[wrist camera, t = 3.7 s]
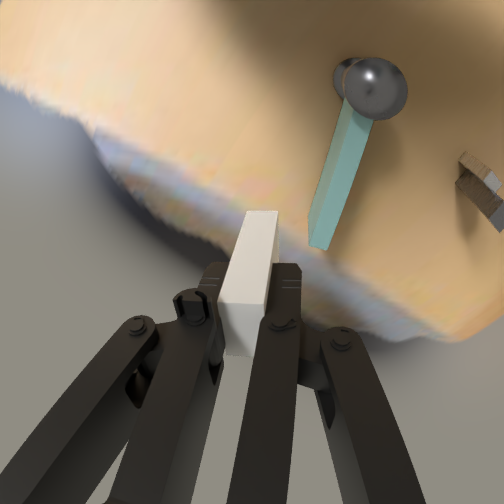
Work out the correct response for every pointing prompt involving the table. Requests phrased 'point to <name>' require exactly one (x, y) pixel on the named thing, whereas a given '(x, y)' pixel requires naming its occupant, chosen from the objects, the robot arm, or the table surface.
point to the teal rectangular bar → (337, 174)
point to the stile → (482, 189)
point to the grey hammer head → (371, 87)
